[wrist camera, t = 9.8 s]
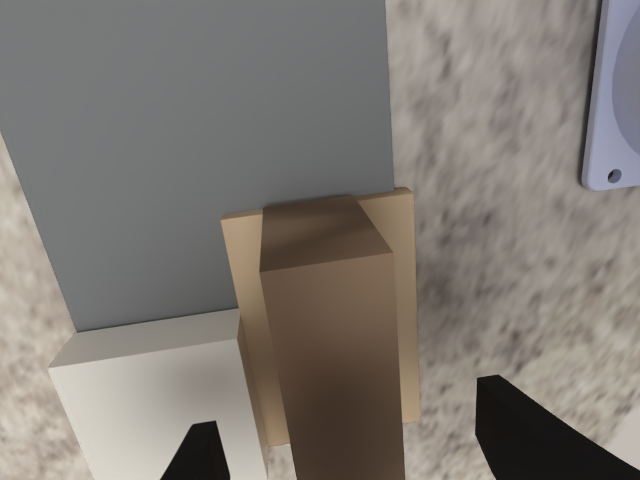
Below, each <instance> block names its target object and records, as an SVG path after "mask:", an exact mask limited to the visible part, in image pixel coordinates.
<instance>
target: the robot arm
mask: <svg viewBox="0 0 640 480" xmlns="http://www.w3.org/2000/svg"><path fill="white" fill-rule="evenodd" d="M612 170H613V175H612V177H611V178H610V179H609V180H608V175H609V173H610V172H611V171H612ZM582 184H583V185H584V187H586V188H587V189H590V190H593V191H604V190H611V189H618V188H625V187H632V186H639V185H640V0H603V2H602V10H601V18H600V27H599V35H598V44H597V52H596V61H595V69H594V78H593V86H592V94H591V103H590V111H589V120H588V128H587V137H586V145H585V153H584V162H583V170H582ZM475 435H476V437H477V439H478V442H479V444H480V446H481V449H482V451H483V453H484V456H485V458H486V460H487V462H488V465H489V467H490V469H491V471H492V473H493V475H494V477H495V478H496V480H640V470H638V469H636V468H634V467H633V466H631V465H629V464H628V463H626V462H624V461H623V460H621V459H619V458H618V457H616V456H615V455H613V454H611V453H610V452H608V451H607V450H605V449H604V448H602V447H600V446H599V445H597V444H596V443H594V442H593V441H591V440H589V439H588V438H586V437H585V436H583V435H582V434H580V433H579V432H577V431H576V430H575V429H573V428H572V427H570V426H569V425H567V424H566V423H564V422H563V421H562V420H560V419H559V418H557V417H556V416H554V415H553V414H552V413H550V412H549V411H547V410H546V409H545V408H543V407H542V406H541V405H539V404H538V403H537V402H535V401H534V400H532V399H531V398H530V397H528V396H527V395H526V394H524V393H523V392H522V391H520V390H519V389H518V388H516V387H515V386H514V385H512V384H511V383H510V382H508V381H507V380H505V379H504V378H503V377H501V376H500V375H492V376H486V377H480V378H477V397H476V426H475ZM160 480H230V472H229V468H228V465H227V461H226V457H225V453H224V449H223V446H222V442H221V438H220V434H219V430H218V427H217V423H216V420H214V421H208V422H202V423H196V424H193V425H192V426H191V427H190V428H189V430H188V432H187V434H186V436H185V437H184V439H183V441H182V443H181V444H180V446H179V448H178V450H177V452H176V453H175V455H174V457H173V458H172V460H171V462H170V464H169V465H168V467H167V469H166V470H165V472H164V474H163V475H162V477H161V478H160Z"/></svg>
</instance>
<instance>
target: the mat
mask: <svg viewBox="0 0 640 480" xmlns="http://www.w3.org/2000/svg"><path fill="white" fill-rule="evenodd" d="M0 131H1V134H2V137H3V139H4V142H5V144H6V147H7V150H8V152H9V155H10V158H11V160H12V163H13V165H14V168H15V171H16V173H17V176H18V179H19V181H20V184H21V186H22V189H23V192H24V194H25V197H26V200H27V202H28V205H29V208H30V210H31V213H32V215H33V218H34V221H35V223H36V226H37V229H38V231H39V234H40V236H41V239H42V242H43V244H44V247H45V250H46V252H47V255H48V258H49V260H50V263H51V265H52V268H53V271H54V273H55V276H56V279H57V281H58V284H59V286H60V289H61V292H62V294H63V297H64V300H65V302H66V305H67V308H68V310H69V313H70V315H71V318H72V321H73V323H74V326H75V329H76V331H77V333H79V332H86V331H92V330H99V329H105V328H112V327H118V326H125V325H132V324H138V323H145V322H151V321H158V320H164V319H171V318H178V317H184V316H191V315H197V314H204V313H211V312H217V311H224V310H230V309H237V308H239V306H238V301H237V297H236V292H235V287H234V282H233V277H232V273H231V268H230V263H229V258H228V253H227V249H226V244H225V239H224V234H223V229H222V225H221V217H222V215H223V214H231V213H238V212H245V211H252V210H260V209H263V208H264V207H271V206H278V205H285V204H293V203H300V202H307V201H314V200H322V199H329V198H336V197H343V196H351V195H353V196H361V195H368V194H375V193H382V192H390V191H394V175H393V154H392V133H391V112H390V91H389V71H388V50H387V29H386V8H385V0H0Z"/></svg>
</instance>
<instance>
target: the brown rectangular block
mask: <svg viewBox="0 0 640 480" xmlns="http://www.w3.org/2000/svg"><path fill="white" fill-rule="evenodd" d="M259 274H260V279H261V285H262V290H263V296H264V301H265V307H266V312H267V318H268V323H269V329H270V334H271V340H272V345H273V351H274V356H275V362H276V367H277V373H278V378H279V384H280V389H281V395H282V400H283V406H284V411H285V417H286V422H287V428H288V433H289V439H290V444H291V450H292V455H293V461H294V466H295V472H296V477H297V480H405V466H404V446H403V427H402V407H401V388H400V368H399V348H398V329H397V309H396V290H395V270H394V252H393V251H392V250H391V248H390V247H389V245H388V244H387V243H386V241H385V240H384V238H383V237H382V235H381V234H380V233H379V231H378V230H377V228H376V227H375V226H374V224H373V223H372V221H371V220H370V219H369V217H368V216H367V214H366V213H365V212H364V210H363V209H362V207H361V206H360V204H359V203H358V202H357V200H356V199H355V197H354V196H353V195H351V196H343V197H336V198H329V199H322V200H314V201H307V202H300V203H293V204H285V205H278V206H271V207H264V208H263V217H262V234H261V251H260V268H259Z"/></svg>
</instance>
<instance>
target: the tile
mask: <svg viewBox="0 0 640 480" xmlns="http://www.w3.org/2000/svg"><path fill="white" fill-rule="evenodd" d="M47 369H48V372H49V374H50V376H51V379H52V381H53V383H54V386H55V388H56V390H57V393H58V395H59V397H60V400H61V402H62V404H63V407H64V409H65V411H66V414H67V416H68V419H69V421H70V423H71V426H72V428H73V430H74V433H75V435H76V437H77V440H78V442H79V444H80V447H81V449H82V451H83V454H84V456H85V458H86V461H87V463H88V465H89V468H90V470H91V472H92V475H93V477H94V480H160V478H161V477H162V475H163V474H164V472H165V470H166V469H167V467H168V465H169V464H170V462H171V460H172V458H173V457H174V455H175V453H176V452H177V450H178V448H179V446H180V444H181V443H182V441H183V439H184V437H185V436H186V434H187V432H188V430H189V428H190V427H191V426H192V425H193V424H196V423H202V422H208V421H214V420H216V423H217V427H218V430H219V434H220V438H221V442H222V446H223V449H224V453H225V457H226V461H227V465H228V468H229V472H230V480H268V445H267V440H266V435H265V431H264V426H263V421H262V416H261V411H260V407H259V402H258V397H257V392H256V388H255V383H254V378H253V373H252V368H251V364H250V359H249V354H248V349H247V344H246V340H245V335H244V330H243V325H242V320H241V316H240V311H239V308H237V309H230V310H224V311H217V312H211V313H204V314H197V315H191V316H184V317H178V318H171V319H164V320H158V321H151V322H145V323H138V324H132V325H125V326H118V327H112V328H105V329H99V330H92V331H86V332H79V333H74V334H73V336H72V337H71V338H70V340H69V341H68V342H67V344H66V345H65V346H64V347H63V349H62V350H61V351H60V353H59V354H58V355H57V357H56V358H55V359H54V360H53V362H52V363H51V364H50V366H49V367H48V368H47Z"/></svg>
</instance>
